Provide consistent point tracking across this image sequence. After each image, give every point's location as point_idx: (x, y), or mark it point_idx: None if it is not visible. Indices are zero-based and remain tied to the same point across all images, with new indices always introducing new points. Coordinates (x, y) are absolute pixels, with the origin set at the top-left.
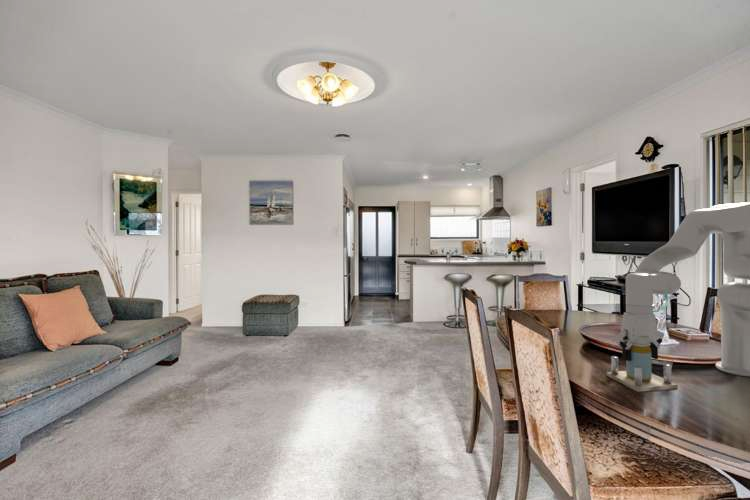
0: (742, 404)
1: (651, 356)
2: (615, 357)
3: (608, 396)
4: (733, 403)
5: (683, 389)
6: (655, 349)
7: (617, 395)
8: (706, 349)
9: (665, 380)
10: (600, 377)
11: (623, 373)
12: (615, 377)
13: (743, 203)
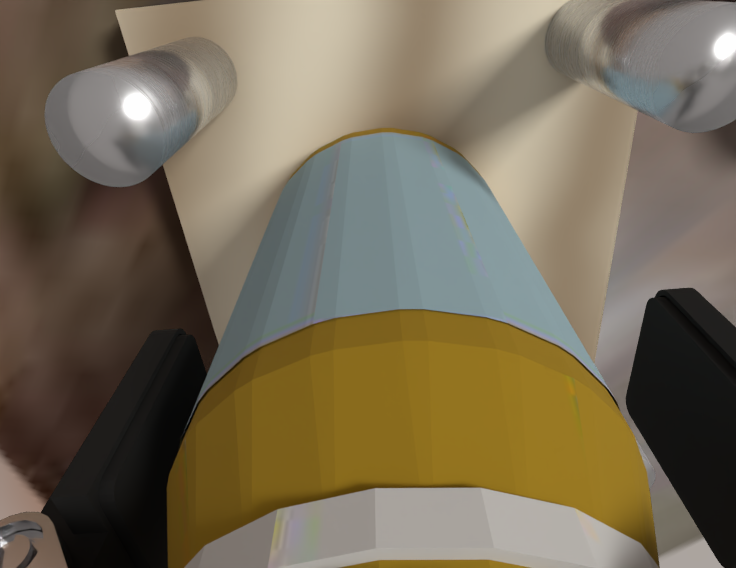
0: (700, 536)
1: (646, 353)
2: (113, 154)
3: (5, 422)
4: (670, 527)
5: (602, 374)
6: (711, 548)
7: (73, 415)
8: None
9: None
10: (42, 60)
11: (308, 81)
12: (168, 167)
13: None
